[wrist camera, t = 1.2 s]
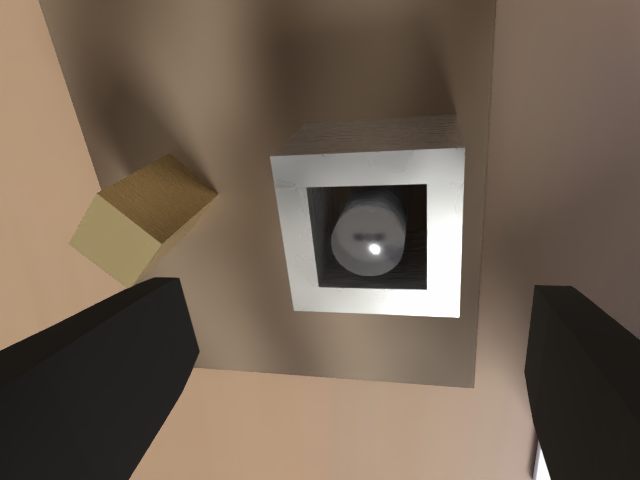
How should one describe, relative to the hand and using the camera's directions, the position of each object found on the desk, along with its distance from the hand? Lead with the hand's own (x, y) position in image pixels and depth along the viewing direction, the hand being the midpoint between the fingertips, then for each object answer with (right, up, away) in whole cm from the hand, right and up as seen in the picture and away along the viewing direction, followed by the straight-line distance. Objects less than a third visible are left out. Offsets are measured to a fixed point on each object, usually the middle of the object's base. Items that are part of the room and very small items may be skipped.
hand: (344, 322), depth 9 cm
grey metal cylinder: (+2, +3, +7) cm, 8 cm away
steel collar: (+2, +3, +7) cm, 8 cm away
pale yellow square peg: (-6, +3, +9) cm, 11 cm away
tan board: (-2, +4, +9) cm, 10 cm away
